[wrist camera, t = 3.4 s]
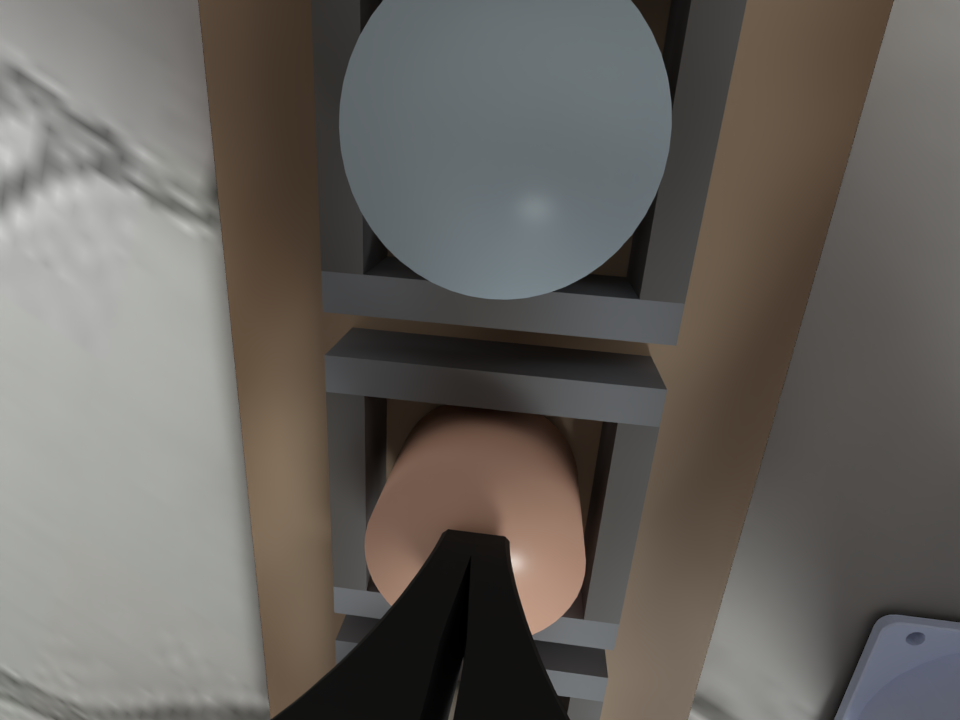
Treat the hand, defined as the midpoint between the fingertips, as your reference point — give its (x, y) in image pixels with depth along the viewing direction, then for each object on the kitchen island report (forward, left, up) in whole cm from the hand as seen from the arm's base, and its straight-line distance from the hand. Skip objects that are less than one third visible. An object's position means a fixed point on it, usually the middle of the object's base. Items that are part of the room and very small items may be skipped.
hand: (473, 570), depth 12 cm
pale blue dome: (0, -9, -2) cm, 9 cm away
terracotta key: (0, 0, -4) cm, 4 cm away
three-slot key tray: (0, 0, -5) cm, 5 cm away
